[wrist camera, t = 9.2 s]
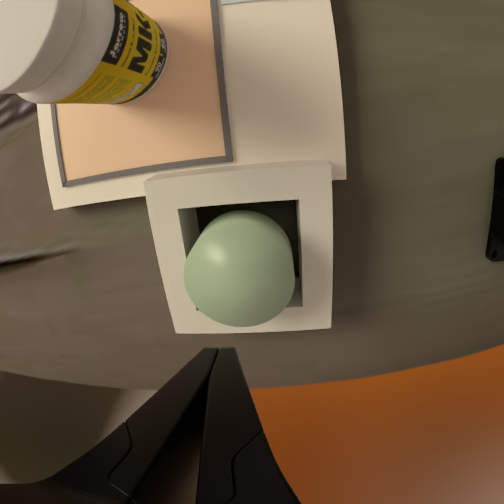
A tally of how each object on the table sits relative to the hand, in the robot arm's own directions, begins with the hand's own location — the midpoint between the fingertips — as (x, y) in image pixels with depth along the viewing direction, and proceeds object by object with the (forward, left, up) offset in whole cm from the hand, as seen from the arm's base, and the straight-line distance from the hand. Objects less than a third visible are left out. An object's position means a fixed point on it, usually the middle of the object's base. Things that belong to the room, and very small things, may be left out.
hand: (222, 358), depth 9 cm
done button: (0, 0, -7) cm, 7 cm away
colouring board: (+3, -10, -10) cm, 14 cm away
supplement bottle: (+5, -10, -8) cm, 14 cm away
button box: (0, 0, -10) cm, 10 cm away
